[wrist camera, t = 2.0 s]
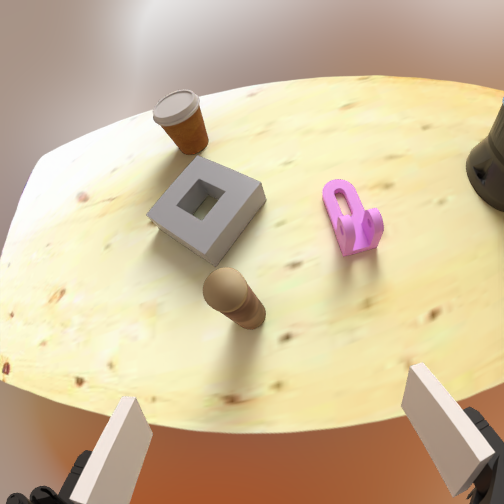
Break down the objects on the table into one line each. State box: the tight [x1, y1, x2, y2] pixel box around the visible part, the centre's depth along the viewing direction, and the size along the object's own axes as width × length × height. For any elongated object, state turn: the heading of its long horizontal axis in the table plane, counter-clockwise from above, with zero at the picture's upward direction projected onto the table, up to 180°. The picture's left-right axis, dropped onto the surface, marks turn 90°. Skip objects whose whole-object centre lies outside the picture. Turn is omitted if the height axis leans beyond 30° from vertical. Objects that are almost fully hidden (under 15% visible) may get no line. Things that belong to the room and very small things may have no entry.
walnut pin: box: [203, 267, 266, 329], centre depth 35 cm, size 5×5×13 cm
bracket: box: [323, 179, 384, 257], centre depth 41 cm, size 13×6×7 cm, turn 10°
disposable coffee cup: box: [153, 90, 208, 155], centre depth 53 cm, size 10×10×12 cm
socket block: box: [146, 155, 266, 267], centre depth 47 cm, size 14×14×5 cm
